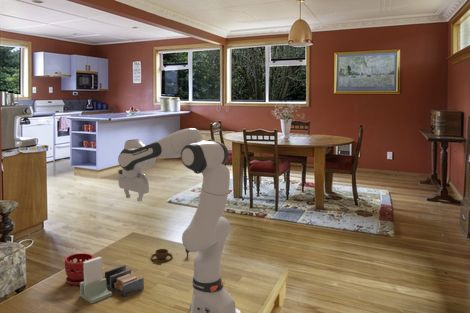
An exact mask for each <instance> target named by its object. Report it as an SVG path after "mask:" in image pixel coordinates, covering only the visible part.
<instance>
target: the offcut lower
mask: <svg viewBox="0 0 470 313" xmlns="http://www.w3.org/2000/svg"><path fill="white" fill-rule="evenodd" d="M114 287H115V288H117V289H119V290H121V291H122V285H120V284H118V283H117V282H116V283H114Z"/></svg>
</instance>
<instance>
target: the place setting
mask: <svg viewBox="0 0 470 313" xmlns="http://www.w3.org/2000/svg"><path fill="white" fill-rule="evenodd" d="M184 248H185V247H184ZM185 253H186V257H187V258H189V253H191V252H190V251H188V250H187V249H186V248H185ZM176 255H178V253H176ZM168 256H169V257H170V258H168V259H167V257H168ZM155 257H156V258H157V259H154V258H155ZM150 259H151V261H153V264H156V265H162V263H166V262H170V261H171V260H173V254H172V253H169V250H168V249H166V248H158V249H156V250H155V253H154V254H151V256H150Z"/></svg>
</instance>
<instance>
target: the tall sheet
mask: <svg viewBox="0 0 470 313" xmlns="http://www.w3.org/2000/svg"><path fill="white" fill-rule="evenodd" d="M83 268H84V294H85V286H86V285H88V284H91V283H94V282H96V281H99V280H102V279H104V278H103V257H101V256H97V257H94V259H91V260H90V259H89V260H88V261H87V260H85V262H83Z"/></svg>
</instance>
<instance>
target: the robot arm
mask: <svg viewBox="0 0 470 313" xmlns="http://www.w3.org/2000/svg"><path fill="white" fill-rule="evenodd" d="M176 158H177V159H178V158H181V159H180V160H181V162H182V164H183V166H184V167H185V168H187V169H188V170H190V171H192V172H193V173H195V174H196V175H198V174H202V175H201V176H202V184H201V189H200V190H201V191H200V195H199V200H198V205H197V208H196V211H195V212H194V215H193V217H192V219H191V221H190V223H189V225H188V226H187V227H186V229H184V231H183V232H182V236H181V241H182V245H183V247H184V248H186V249H187V250H188V251H190V252H189V253H196V252H197V254H196V255H195V257H194V260H193V276H192V288H193V289H192V297H191V302H190V306H189V313H242V312H241V310H240V309H238V308H236V302H235V300H234V299H235V298H233V297H232V295H231V293H229V292H228V290H227V289H226V288H225V287H224V285H225V281H222V280H223V279H222V277H221V259H222V256H223V255H222V254H223V250H224V246H225V244H226V241H227V239H228V237H229V235H230V234H231V231H232V226H231V223H230V222H229V220H228V219H227V218H226V217H224V216H223V214H224V213H225V211H226V207H227V201H228V197H229V192H230V183H231V182H230V180H231V176H230V172H231V171H230V169H229V167H227V166H226V165H225V164H226V162H228V160H229V149H228V148H227V146H226V145H225V144H224V143H222V142H220V141H216V140H214V139H208V140H205V139H204V138H203V135H202V133H201V131H200V130H198V129H197V128H193V127H190V128H184V129H179V130H177V131H175V132H173V133H169V134H168V135H167V136H164V137H162V138H160V139H157V140H155V141H154V142H152V143H149V144H144V142H143V141H142V140H141V139H138V138H135V139H134V138H133V139H127V140H125V142H124V146H123V149H122V150H121V152H120V153H119V156H118V158H117V161H118V164H119V165H120V167H121V168H120V169H118V170H117V173H118V176H117V177H118V179H117V180H118V181H117V182H118V187H119V188H120V189H123V191H124V193H125V194H124V195H125V198H126V199H130V198H131V194H130V192H135V193H137V194H138V197H137V198H136V199H137V200H136V201H137V202H143V197H144V195H146V194H148V193H149V192H150V184H149V179H148V177H147V175H146V174H144V172H143V170H144V169H145V168H147V169H148V168H151V167H154V166H155V165H156V163H157V161H158V160H157V159H176Z"/></svg>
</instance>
